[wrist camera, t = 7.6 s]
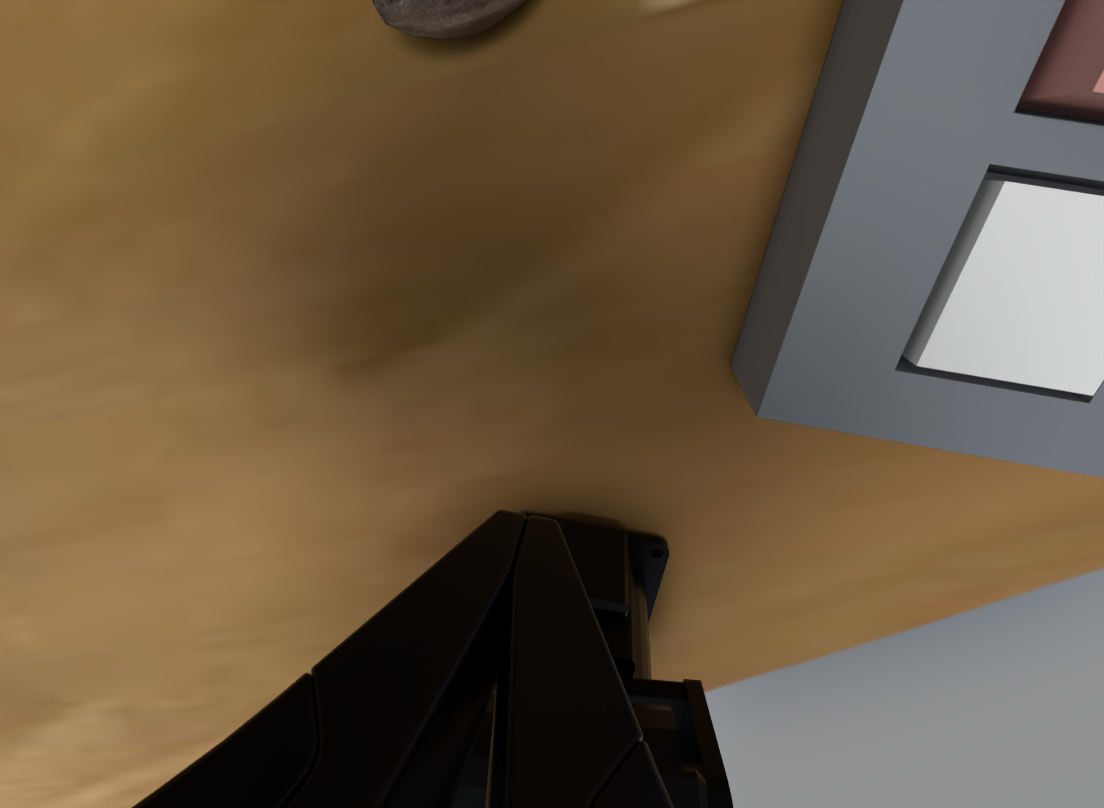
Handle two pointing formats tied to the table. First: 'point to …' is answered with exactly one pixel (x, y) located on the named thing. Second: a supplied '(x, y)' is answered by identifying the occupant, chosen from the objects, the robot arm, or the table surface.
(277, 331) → the table surface
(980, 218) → the white key
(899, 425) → the key panel
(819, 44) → the table surface
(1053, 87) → the red key
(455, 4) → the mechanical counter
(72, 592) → the table surface
